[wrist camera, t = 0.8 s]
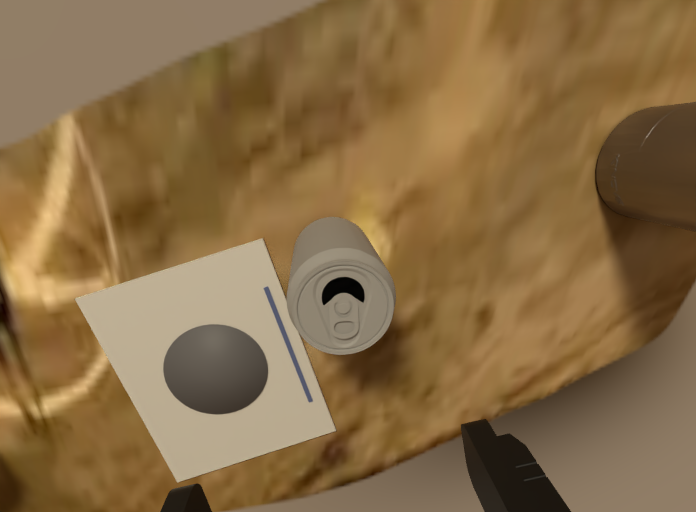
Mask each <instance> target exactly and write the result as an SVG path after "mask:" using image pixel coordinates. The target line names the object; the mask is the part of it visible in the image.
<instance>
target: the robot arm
mask: <svg viewBox="0 0 696 512" xmlns="http://www.w3.org/2000/svg"><path fill="white" fill-rule="evenodd" d="M596 181H597V186H598V190H599V193H600V195H601V197H602V199H603V201H604V202H605V203H606V204H607V205H608V207H609V208H611V209H612V210H614V211H615V212H616V213H618V214H621V215H624V216H627V217H632V218H636V219H641V220H645V221H650V222H655V223H659V224H663V225H668V226H672V227H677V228H682V229H686V230H691V231H696V102H692V103H684V104H675V105H667V106H659V107H651V108H647V109H643V110H640V111H638V112H636V113H634V114H632V115H630V116H629V117H627V118H626V119H625V120H623V121H622V122H621V123H620V124H618V125H617V127H616V128H615V129H614V130H613V131H612V132H611V134H610V135H609V137H608V138H607V140H606V142H605V143H604V145H603V147H602V150H601V152H600V155H599V158H598V163H597V168H596ZM461 431H462V438H463V444H464V451H465V457H466V463H467V468H468V472H469V476H470V478H471V481H472V484H473V487H474V489H475V491H476V494H477V496H478V498H479V500H480V502H481V505H482V507H483V509H484V511H485V512H571V511H570V509H569V508H568V507H567V505H566V504H565V502H564V501H563V499H562V498H561V496H560V495H559V494H558V492H557V490H556V489H555V488H554V486H553V485H552V483H551V482H550V480H549V479H548V477H546V475H545V473H544V472H543V470H542V469H541V467H540V466H539V464H537V462H536V460H535V459H534V457H533V456H532V454H531V453H530V451H529V450H528V448H527V447H526V446H525V445H524V444H523V443H522V442H520V441H519V440H518V439H516V438H515V437H513V436H512V435H511V434H505V435H501V436H496V434H495V432H494V431H493V429H492V427H491V426H490V424H489V423H488V421H487V420H486V419H483V420H478V421H474V422H469V423H465V424H461ZM161 512H212V511H211V509H210V506H209V504H208V501H207V499H206V496H205V494H204V492H203V489H202V487H201V485H200V484H193V485H188V486H184V487H180V488H175V489H172V490H171V491H170V492H169V494H168V496H167V498H166V500H165V503H164V505H163V507H162V509H161Z"/></svg>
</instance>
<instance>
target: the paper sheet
mask: <svg viewBox="0 0 696 512" xmlns="http://www.w3.org/2000/svg"><path fill="white" fill-rule="evenodd" d="M75 300H76V302H77V304H78V306H79V307H80V309H81V311H82V313H83V314H84V316H85V318H86V320H87V322H88V323H89V325H90V327H91V329H92V331H93V332H94V334H95V336H96V338H97V339H98V341H99V343H100V345H101V347H102V348H103V350H104V352H105V354H106V356H107V357H108V359H109V361H110V363H111V364H112V366H113V368H114V370H115V372H116V373H117V375H118V377H119V379H120V381H121V382H122V384H123V386H124V388H125V389H126V391H127V393H128V395H129V397H130V398H131V400H132V402H133V404H134V406H135V407H136V409H137V411H138V413H139V414H140V416H141V418H142V420H143V422H144V423H145V425H146V427H147V429H148V431H149V432H150V434H151V436H152V438H153V439H154V441H155V443H156V445H157V447H158V448H159V450H160V452H161V454H162V456H163V457H164V459H165V461H166V463H167V465H168V466H169V468H170V470H171V472H172V473H173V475H174V477H175V479H176V481H177V482H180V481H183V480H186V479H189V478H193V477H196V476H199V475H202V474H205V473H208V472H211V471H214V470H217V469H220V468H223V467H226V466H229V465H233V464H236V463H239V462H242V461H245V460H248V459H251V458H254V457H257V456H260V455H263V454H266V453H269V452H273V451H276V450H279V449H282V448H285V447H288V446H291V445H294V444H297V443H300V442H303V441H306V440H309V439H313V438H316V437H319V436H322V435H325V434H328V433H331V432H334V431H336V428H335V425H334V423H333V420H332V417H331V415H330V412H329V409H328V407H327V404H326V402H325V399H324V396H323V394H322V391H321V389H320V386H319V383H318V381H317V378H316V375H315V373H314V370H313V368H312V365H311V362H310V360H309V357H308V354H307V352H306V349H305V347H304V344H303V341H302V339H301V336H300V333H299V332H298V330H297V329H296V328H295V326H294V325H293V323H292V321H291V319H290V316H289V313H288V309H287V299H286V297H285V294H284V292H283V289H282V286H281V284H280V281H279V278H278V276H277V273H276V271H275V268H274V265H273V263H272V260H271V258H270V255H269V252H268V250H267V247H266V244H265V242H264V239H263V238H262V239H259V240H255V241H252V242H249V243H246V244H243V245H240V246H237V247H234V248H230V249H227V250H224V251H221V252H218V253H215V254H212V255H209V256H205V257H202V258H199V259H196V260H193V261H190V262H187V263H184V264H180V265H177V266H174V267H171V268H168V269H165V270H162V271H159V272H155V273H152V274H149V275H146V276H143V277H140V278H137V279H134V280H130V281H127V282H124V283H121V284H118V285H115V286H112V287H109V288H105V289H102V290H99V291H96V292H93V293H90V294H87V295H84V296H80V297H77V298H76V299H75Z"/></svg>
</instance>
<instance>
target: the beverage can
mask: <svg viewBox="0 0 696 512" xmlns="http://www.w3.org/2000/svg"><path fill="white" fill-rule="evenodd" d="M395 301H396V293H395V287H394V283H393V280H392V277H391V275H390V273H389V272H388V270H387V269H386V267H385V265H384V264H383V262H382V261H381V259H380V257H379V256H378V254H377V253H376V251H375V249H374V248H373V246H372V245H371V243H370V241H369V240H368V238H367V237H366V235H365V234H364V232H363V231H362V230H361V229H360V228H359V227H358V226H357V225H356V224H354V223H352V222H350V221H348V220H346V219H343V218H338V217H327V218H322V219H319V220H316V221H314V222H313V223H311V224H310V225H308V226H307V227H306V228H305V229H304V230H303V231H302V232H301V233H300V235H299V237H298V238H297V241H296V243H295V247H294V252H293V259H292V265H291V272H290V278H289V285H288V291H287V309H288V313H289V316H290V319H291V321H292V323H293V325H294V326H295V328H296V329H297V330H298V332H299V333H300V335H301V336H302V337H303V339H304V340H305V341H306V342H308V343H309V344H310V345H311V346H313V347H314V348H316V349H318V350H320V351H323V352H326V353H329V354H335V355H347V354H353V353H357V352H360V351H363V350H365V349H367V348H368V347H370V346H372V345H373V344H374V343H376V342H377V341H378V340H379V339H380V338H381V337H382V336H383V335H384V333H385V332H386V330H387V329H388V327H389V325H390V323H391V320H392V316H393V311H394V307H395Z"/></svg>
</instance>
